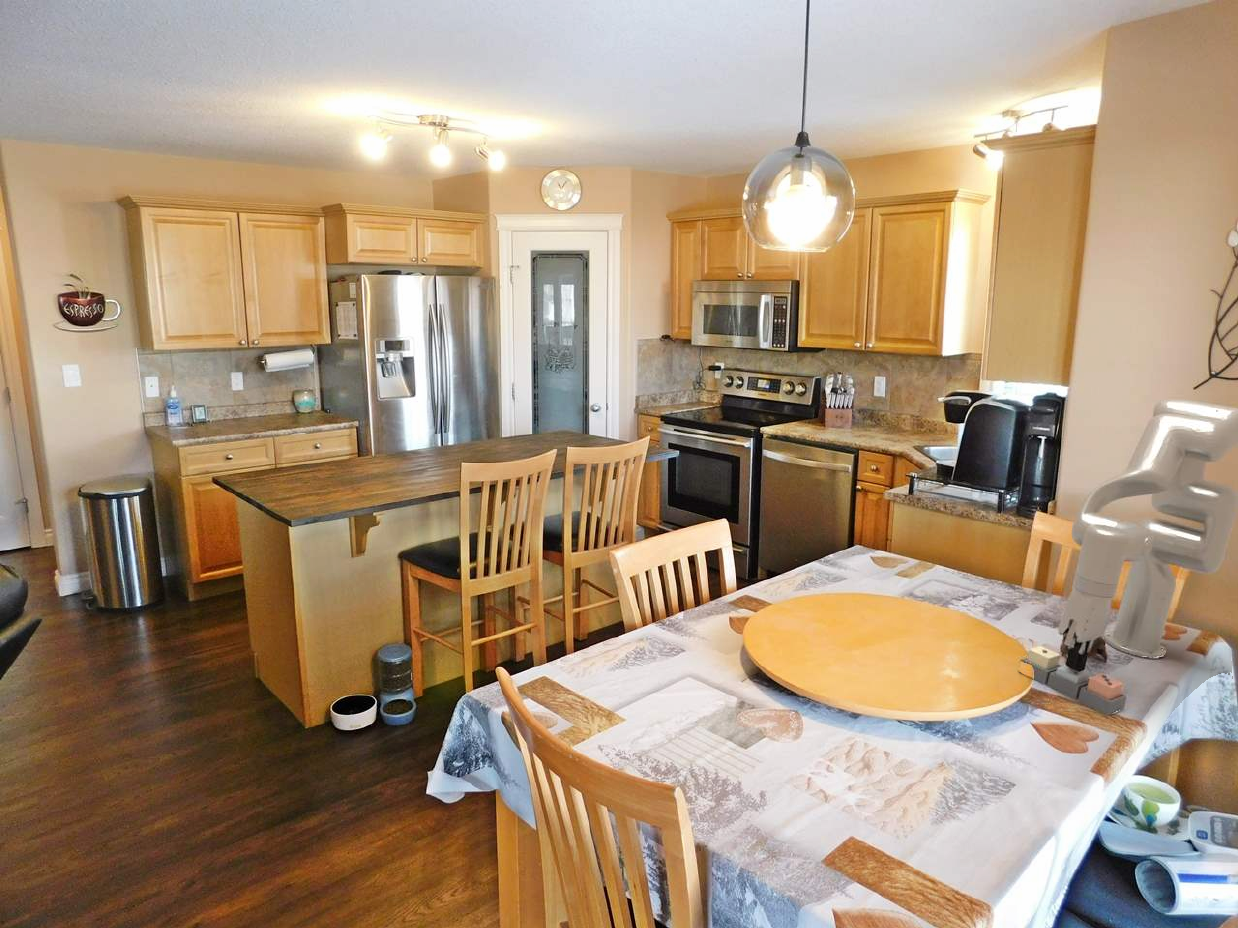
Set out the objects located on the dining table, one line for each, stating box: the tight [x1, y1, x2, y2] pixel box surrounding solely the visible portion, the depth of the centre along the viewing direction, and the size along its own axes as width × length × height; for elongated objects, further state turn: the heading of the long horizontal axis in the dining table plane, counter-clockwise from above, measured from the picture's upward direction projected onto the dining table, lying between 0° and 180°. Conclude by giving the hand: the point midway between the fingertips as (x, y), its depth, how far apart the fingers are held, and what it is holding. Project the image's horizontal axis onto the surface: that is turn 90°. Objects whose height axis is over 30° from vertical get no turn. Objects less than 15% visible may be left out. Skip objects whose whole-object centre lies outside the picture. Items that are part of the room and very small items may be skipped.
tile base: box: [1077, 685, 1128, 716], centre depth 162 cm, size 6×6×3 cm
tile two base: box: [1046, 671, 1090, 701], centre depth 168 cm, size 6×6×3 cm
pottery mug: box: [1059, 634, 1109, 663], centre depth 185 cm, size 12×10×8 cm
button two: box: [1056, 664, 1091, 685], centre depth 167 cm, size 4×4×4 cm
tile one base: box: [1020, 656, 1063, 686], centre depth 173 cm, size 6×6×3 cm
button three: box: [1087, 673, 1124, 700], centre depth 162 cm, size 4×4×4 cm
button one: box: [1026, 645, 1061, 670], centre depth 172 cm, size 4×4×4 cm
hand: (1074, 667), depth 167 cm, fingers closed
